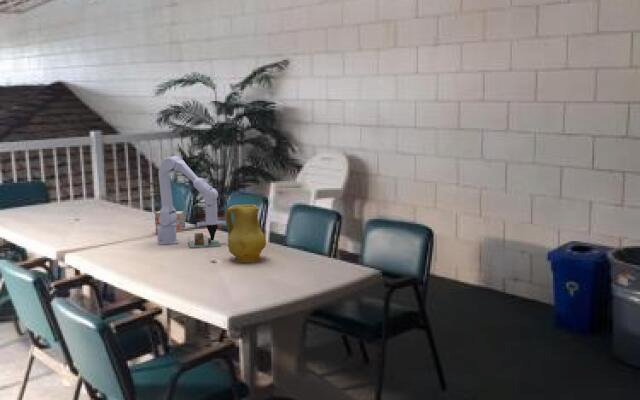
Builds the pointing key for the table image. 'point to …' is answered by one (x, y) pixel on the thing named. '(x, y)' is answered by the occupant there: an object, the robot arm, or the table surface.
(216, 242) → the vise base
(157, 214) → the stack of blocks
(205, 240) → the sliding jaw
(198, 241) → the walnut block
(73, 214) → the table surface
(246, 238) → the pitcher
